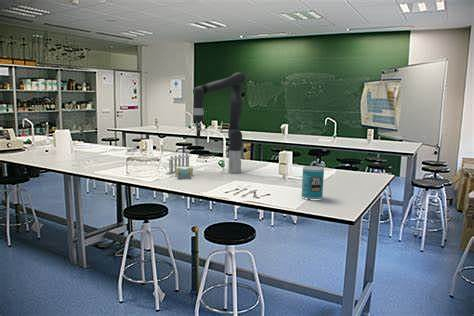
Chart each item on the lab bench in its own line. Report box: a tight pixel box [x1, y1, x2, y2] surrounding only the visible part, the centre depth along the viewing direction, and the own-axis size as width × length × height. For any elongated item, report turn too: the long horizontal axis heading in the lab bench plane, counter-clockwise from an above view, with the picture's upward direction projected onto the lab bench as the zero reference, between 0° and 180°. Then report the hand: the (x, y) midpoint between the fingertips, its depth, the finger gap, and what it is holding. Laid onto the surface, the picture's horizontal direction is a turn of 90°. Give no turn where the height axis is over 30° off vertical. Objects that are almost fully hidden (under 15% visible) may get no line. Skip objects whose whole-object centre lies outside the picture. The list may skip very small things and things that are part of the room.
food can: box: [301, 165, 325, 200], centre depth 216 cm, size 12×12×18 cm
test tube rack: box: [166, 153, 191, 175], centre depth 284 cm, size 25×4×13 cm, turn 149°
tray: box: [177, 173, 192, 180], centre depth 263 cm, size 9×9×2 cm
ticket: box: [175, 166, 194, 177], centre depth 270 cm, size 12×5×6 cm, turn 99°
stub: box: [180, 168, 189, 176], centre depth 262 cm, size 6×5×6 cm
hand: (198, 136), depth 272 cm, fingers open, 8 cm apart
